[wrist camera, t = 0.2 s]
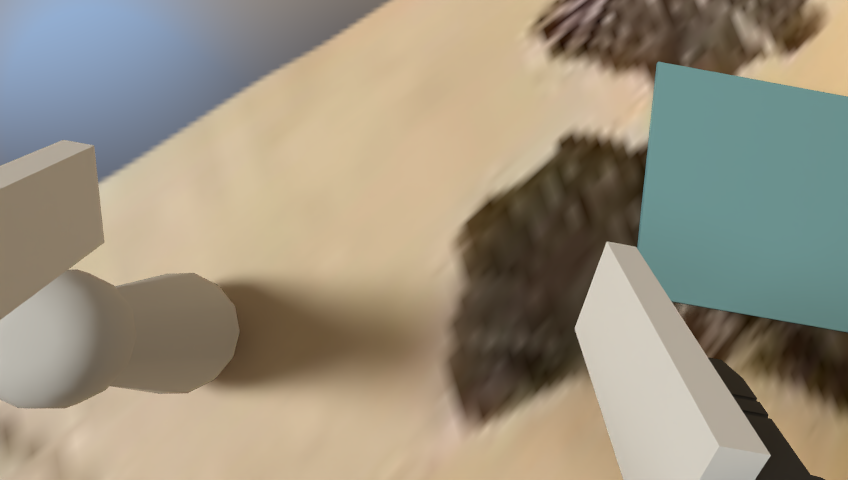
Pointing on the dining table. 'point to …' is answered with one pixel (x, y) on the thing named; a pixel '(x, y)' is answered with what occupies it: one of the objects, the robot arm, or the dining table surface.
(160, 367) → the salt shaker
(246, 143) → the dining table surface
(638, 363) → the robot arm
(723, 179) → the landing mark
